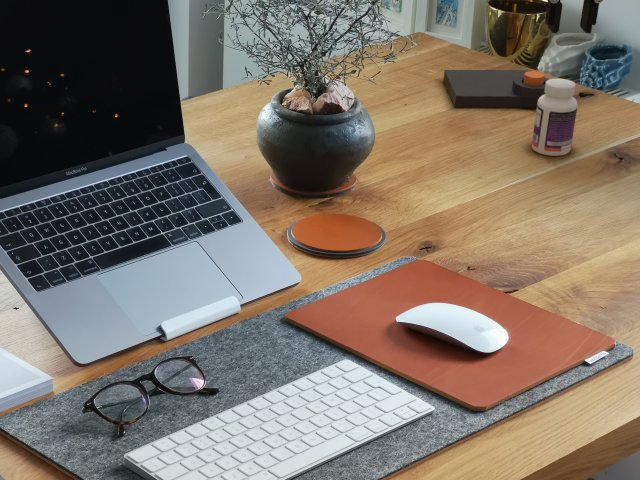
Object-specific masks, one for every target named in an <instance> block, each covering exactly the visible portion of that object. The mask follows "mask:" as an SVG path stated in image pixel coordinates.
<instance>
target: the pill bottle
mask: <svg viewBox="0 0 640 480" xmlns="http://www.w3.org/2000/svg"><path fill="white" fill-rule="evenodd" d="M549 79H550V80H547V81H546V85H545V91H544V92H545V94H544V95H542V96H541V97H540V98H539V99H538V103H537V108H535V109H536V110H535V117H534V124H533V130H532V140H531V148H532V150H533V151H534V152H536V153H538V154H541V155H543V156H544V155H545V156H551V157H559V156H564V155H567V154H569V152H570V151H571V149H572V145H573V138H574V132H575V131H574V130H575V125H576V120H577V119H576V118H577V112H578V107H579V105H578V101H577V99H576V98H575V97H574V96H575V93H576V85H577V84H576V82H574V81H573V80H571V79H566V78H549Z"/></svg>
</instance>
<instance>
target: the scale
mask: <svg viewBox="0 0 640 480" xmlns="http://www.w3.org/2000/svg"><path fill="white" fill-rule="evenodd" d="M443 70H444V71H443V83H444V86H445V88H446V90H447V93H448V95H449V97H450V100H451V102H452V104H453V106H454V108H457V109H458V108H462V109H463V108H465V109H467V108H469V109H470V108H471V109H472V108H473V109H477V108H478V109H489V108H490V109H499V108H500V109H502V108H503V109H509V108H510V109H537V103H538V99H539V98H540V97H541V96H542V95H544V94H545V92H544V91H545V85H546V81H547V80H550V79H551V78H548V77H545V76H544V83H543V85H540V86H531V85H526V84H524V83H523V81H524V74H525V72H528V71H532V69H443Z"/></svg>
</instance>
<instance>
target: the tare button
mask: <svg viewBox="0 0 640 480" xmlns="http://www.w3.org/2000/svg"><path fill="white" fill-rule="evenodd" d="M544 77H545V73H544V72H541V71H537V70H531V71H528V72H525V74H524V81H523V83H524V84H526V85H531V86H540V85H543V83H544Z"/></svg>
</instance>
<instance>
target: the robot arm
mask: <svg viewBox="0 0 640 480" xmlns="http://www.w3.org/2000/svg"><path fill="white" fill-rule="evenodd" d="M603 1H604V0H583V4H582V9H581V15H580V16H581V17H580V22H579V27H580V28H581V30H582V31H583V32H584V33H585V34H591V33H592V29H593V26H596V24H597V20H598V14H599V8H600V4H601V3H602V2H603ZM562 12H563V3H562V1H561V0H547V4H546V10H545V18H544V23H545V25H546V26H547V28H548V29H549V30H550V32H551V33H552V34H557V33H559V31H560V25H561V19H562Z"/></svg>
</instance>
